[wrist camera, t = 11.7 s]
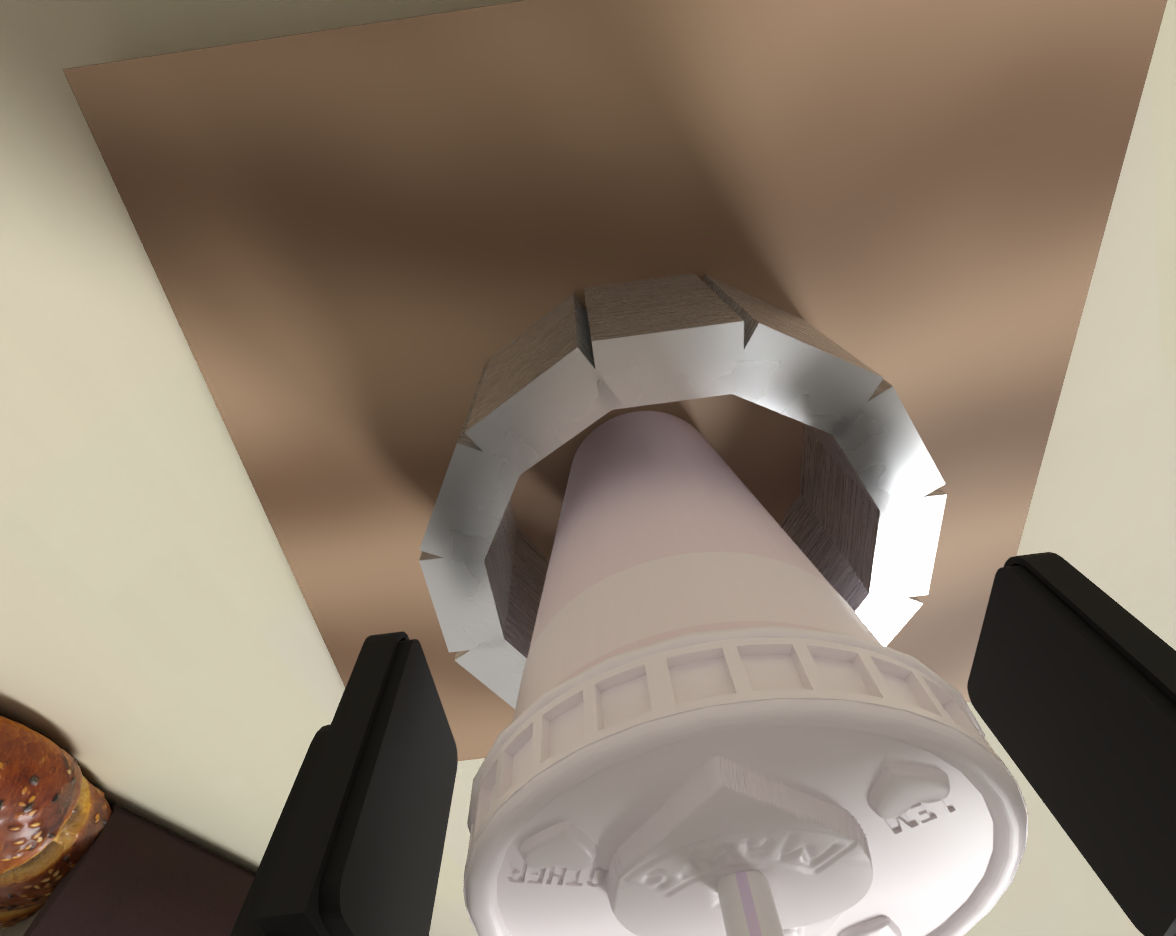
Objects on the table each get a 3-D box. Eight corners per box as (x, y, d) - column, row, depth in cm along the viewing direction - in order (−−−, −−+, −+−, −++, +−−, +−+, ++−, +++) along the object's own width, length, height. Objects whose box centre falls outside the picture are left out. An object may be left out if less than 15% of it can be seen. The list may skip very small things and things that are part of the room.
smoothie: (756, 328, 13) (2855, 2286, 1) (776, 551, 16) (1411, 1750, 4) (483, 390, 14) (-124, 2277, 2) (551, 597, 17) (523, 1800, 5)
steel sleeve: (413, 311, 13) (357, 372, 9) (869, 249, 13) (985, 289, 9) (501, 643, 18) (486, 766, 14) (834, 602, 17) (903, 717, 14)
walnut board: (107, 75, 12) (62, 69, 11) (1134, -77, 11) (1194, -100, 10) (391, 738, 21) (383, 769, 20) (955, 672, 21) (976, 700, 20)
